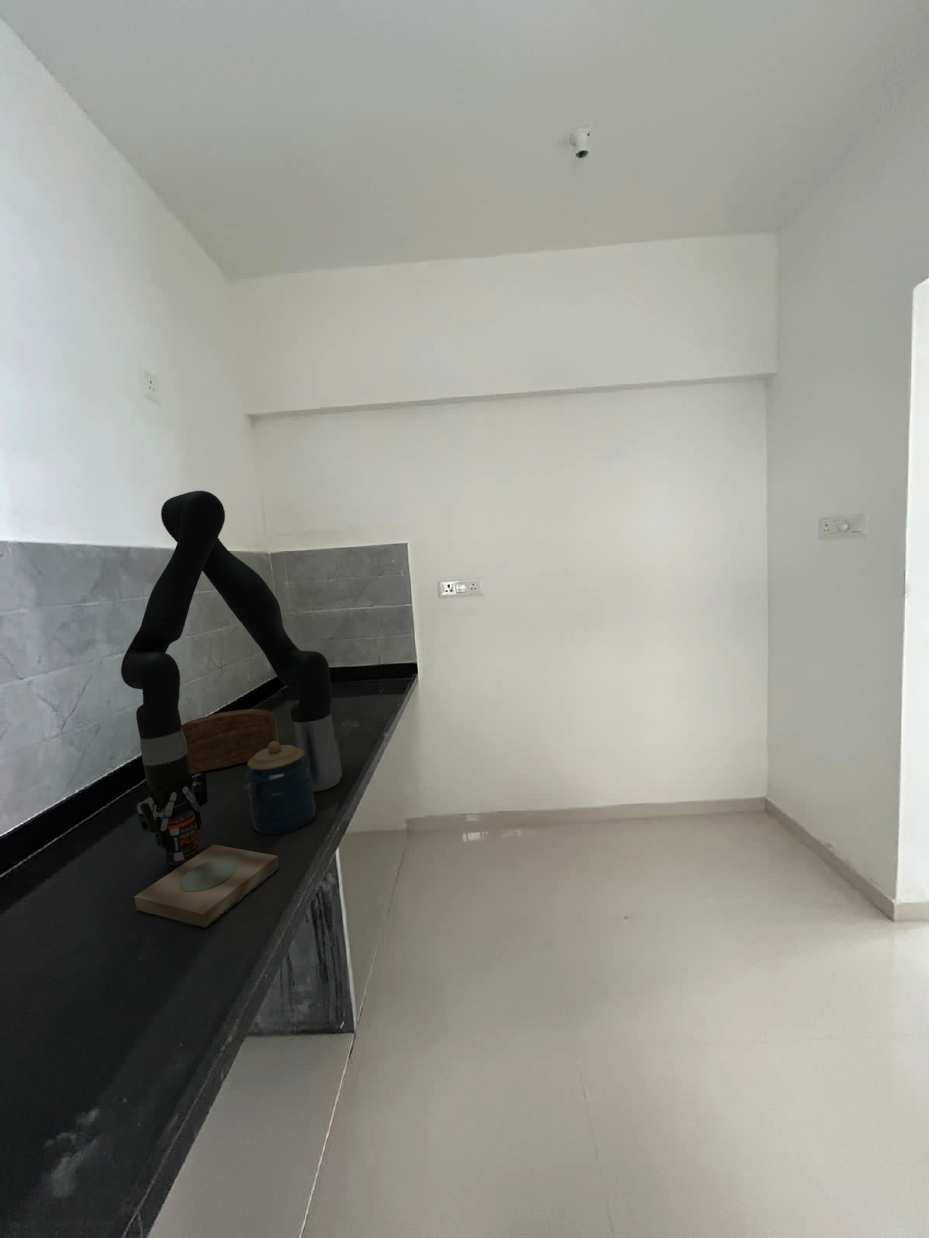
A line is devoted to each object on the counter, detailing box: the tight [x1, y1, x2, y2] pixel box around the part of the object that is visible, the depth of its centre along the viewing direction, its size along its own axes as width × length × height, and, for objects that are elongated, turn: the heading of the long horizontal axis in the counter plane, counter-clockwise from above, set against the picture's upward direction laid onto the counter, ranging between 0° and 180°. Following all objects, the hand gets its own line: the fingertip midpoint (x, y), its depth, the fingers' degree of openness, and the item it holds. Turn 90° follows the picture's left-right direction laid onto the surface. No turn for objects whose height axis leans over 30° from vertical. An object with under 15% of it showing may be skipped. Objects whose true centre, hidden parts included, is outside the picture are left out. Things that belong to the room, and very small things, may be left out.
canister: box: [244, 741, 317, 836], centre depth 115 cm, size 13×13×18 cm
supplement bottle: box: [163, 800, 202, 866], centre depth 104 cm, size 6×6×11 cm
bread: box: [182, 708, 279, 775], centre depth 154 cm, size 12×28×14 cm, turn 110°
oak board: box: [134, 844, 280, 927], centre depth 94 cm, size 16×16×3 cm
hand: (181, 838), depth 105 cm, fingers closed on supplement bottle, 6 cm apart
